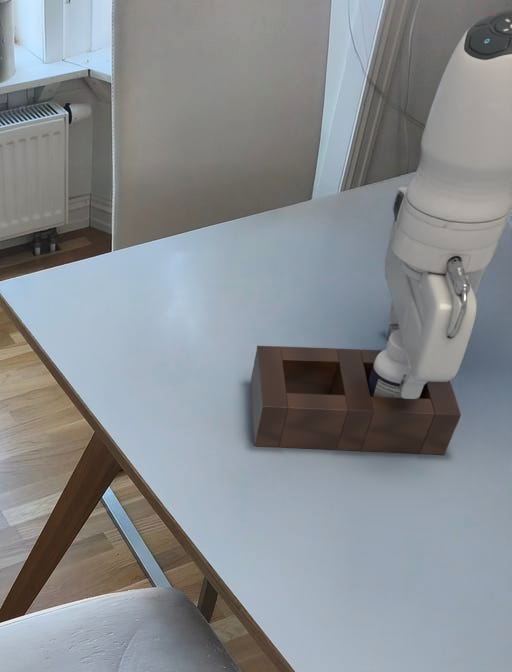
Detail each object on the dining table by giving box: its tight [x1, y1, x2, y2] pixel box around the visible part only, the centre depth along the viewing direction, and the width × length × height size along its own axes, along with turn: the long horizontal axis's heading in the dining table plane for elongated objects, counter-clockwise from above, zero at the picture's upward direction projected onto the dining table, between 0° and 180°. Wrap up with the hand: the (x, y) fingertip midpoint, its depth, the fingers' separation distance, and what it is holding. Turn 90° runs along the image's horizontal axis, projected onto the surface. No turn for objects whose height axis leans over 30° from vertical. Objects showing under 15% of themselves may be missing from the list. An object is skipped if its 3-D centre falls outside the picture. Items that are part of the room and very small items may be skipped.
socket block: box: [249, 345, 462, 456], centre depth 93 cm, size 19×11×5 cm, turn 84°
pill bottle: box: [368, 329, 420, 399], centre depth 91 cm, size 5×5×10 cm
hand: (400, 366), depth 89 cm, fingers open, 8 cm apart
